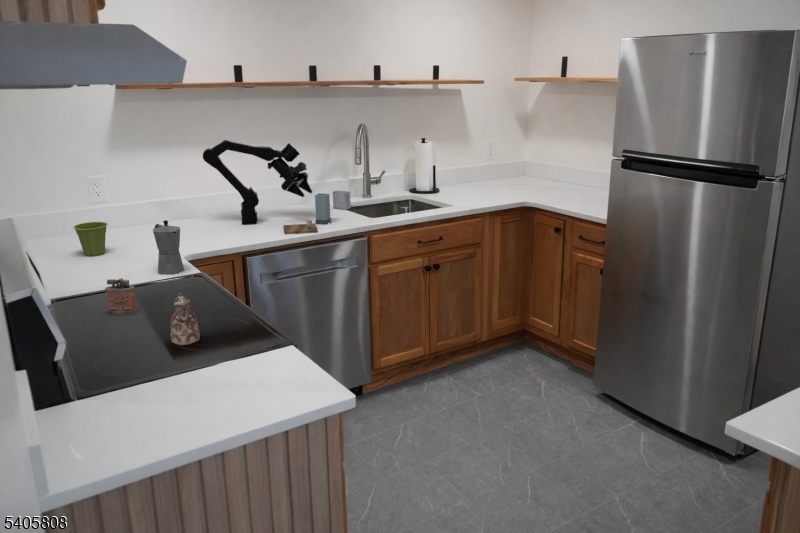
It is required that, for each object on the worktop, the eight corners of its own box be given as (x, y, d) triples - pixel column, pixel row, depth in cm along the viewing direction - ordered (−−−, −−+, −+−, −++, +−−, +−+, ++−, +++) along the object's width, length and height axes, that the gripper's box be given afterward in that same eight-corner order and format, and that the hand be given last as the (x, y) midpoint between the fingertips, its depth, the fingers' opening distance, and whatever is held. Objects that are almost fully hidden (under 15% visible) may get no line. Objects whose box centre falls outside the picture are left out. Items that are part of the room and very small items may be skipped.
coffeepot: (192, 272, 227) (187, 221, 222) (166, 277, 221) (160, 225, 216) (172, 263, 238) (167, 214, 233) (147, 268, 232) (141, 218, 226)
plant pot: (70, 256, 247) (65, 227, 244) (93, 248, 258) (89, 220, 254) (96, 259, 244) (92, 229, 240) (118, 251, 254) (114, 222, 251)
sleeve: (315, 223, 296) (314, 195, 292) (319, 221, 301) (318, 193, 297) (326, 224, 294) (325, 195, 291) (331, 221, 299) (329, 193, 296)
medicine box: (351, 208, 328) (350, 191, 325) (345, 210, 324) (345, 192, 322) (338, 207, 332) (337, 190, 329) (333, 208, 328) (332, 191, 326)
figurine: (170, 346, 166) (165, 301, 163) (171, 335, 173) (166, 292, 169) (199, 342, 168) (195, 298, 165) (200, 332, 175) (195, 290, 171)
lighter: (139, 309, 192) (134, 277, 189) (135, 313, 189) (130, 280, 186) (111, 310, 192) (106, 277, 189) (106, 314, 188) (101, 281, 186)
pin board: (284, 234, 278) (283, 222, 276) (283, 227, 290) (282, 216, 289) (317, 232, 280) (317, 221, 279) (315, 225, 293) (314, 214, 291)
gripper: (286, 159, 283) (311, 185, 284) (302, 154, 301) (326, 179, 301) (270, 177, 288) (295, 203, 288) (287, 171, 305) (311, 195, 305)
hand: (307, 194), depth 296 cm, fingers open, 9 cm apart
